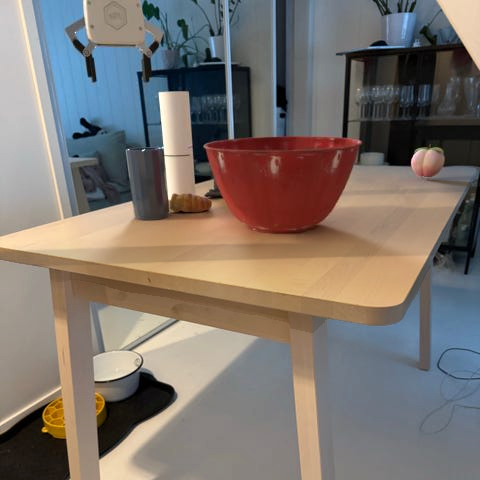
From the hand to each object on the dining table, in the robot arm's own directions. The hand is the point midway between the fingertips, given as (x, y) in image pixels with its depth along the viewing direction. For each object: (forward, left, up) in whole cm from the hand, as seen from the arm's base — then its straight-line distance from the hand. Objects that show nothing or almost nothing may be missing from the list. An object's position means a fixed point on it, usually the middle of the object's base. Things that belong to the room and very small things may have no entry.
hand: (120, 82), depth 86 cm
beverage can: (+25, +20, -26) cm, 41 cm away
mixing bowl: (+26, -17, -26) cm, 40 cm away
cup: (+4, +3, -26) cm, 27 cm away
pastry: (+13, +6, -26) cm, 30 cm away
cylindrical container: (+15, +22, -26) cm, 37 cm away
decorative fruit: (+89, +18, -26) cm, 94 cm away
